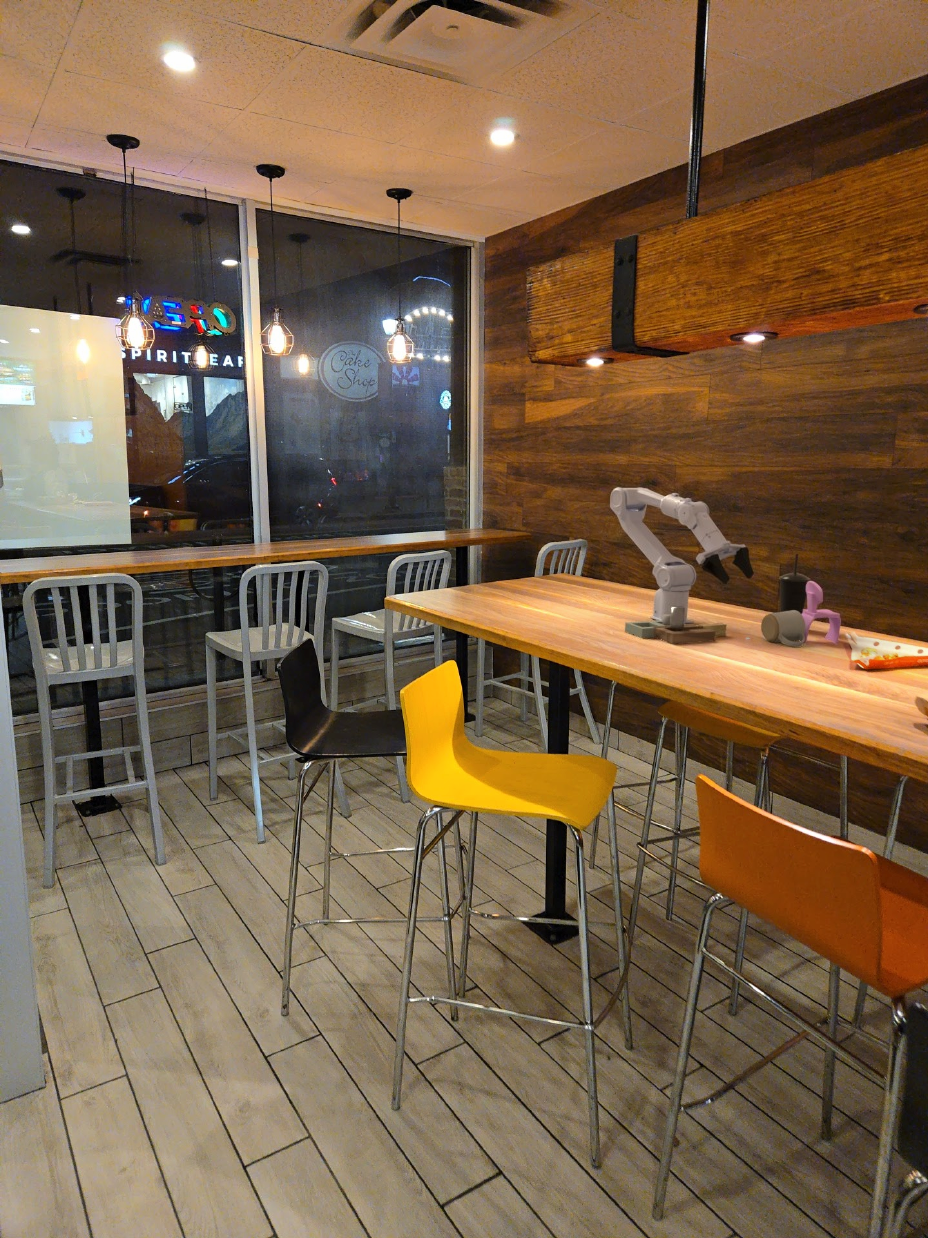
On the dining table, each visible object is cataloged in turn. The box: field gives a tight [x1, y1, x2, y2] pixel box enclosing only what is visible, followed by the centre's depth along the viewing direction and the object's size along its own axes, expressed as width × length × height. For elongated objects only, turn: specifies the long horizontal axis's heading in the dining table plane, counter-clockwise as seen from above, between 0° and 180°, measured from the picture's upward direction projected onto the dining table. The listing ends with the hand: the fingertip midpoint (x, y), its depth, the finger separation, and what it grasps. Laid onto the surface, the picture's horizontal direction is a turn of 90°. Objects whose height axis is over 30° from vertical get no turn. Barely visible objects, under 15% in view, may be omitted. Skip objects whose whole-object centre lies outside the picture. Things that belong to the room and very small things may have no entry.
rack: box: [624, 614, 690, 639], centre depth 214 cm, size 8×14×4 cm, turn 110°
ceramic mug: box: [760, 610, 806, 648], centre depth 205 cm, size 11×8×8 cm
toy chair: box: [799, 580, 842, 645], centre depth 207 cm, size 8×9×15 cm
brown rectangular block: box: [697, 622, 727, 638], centre depth 212 cm, size 2×7×3 cm, turn 110°
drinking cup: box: [778, 553, 811, 614], centre depth 221 cm, size 8×8×20 cm
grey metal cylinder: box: [670, 606, 685, 632], centre depth 207 cm, size 3×3×8 cm
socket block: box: [651, 623, 716, 645], centre depth 209 cm, size 10×12×2 cm
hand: (739, 578), depth 209 cm, fingers open, 7 cm apart
